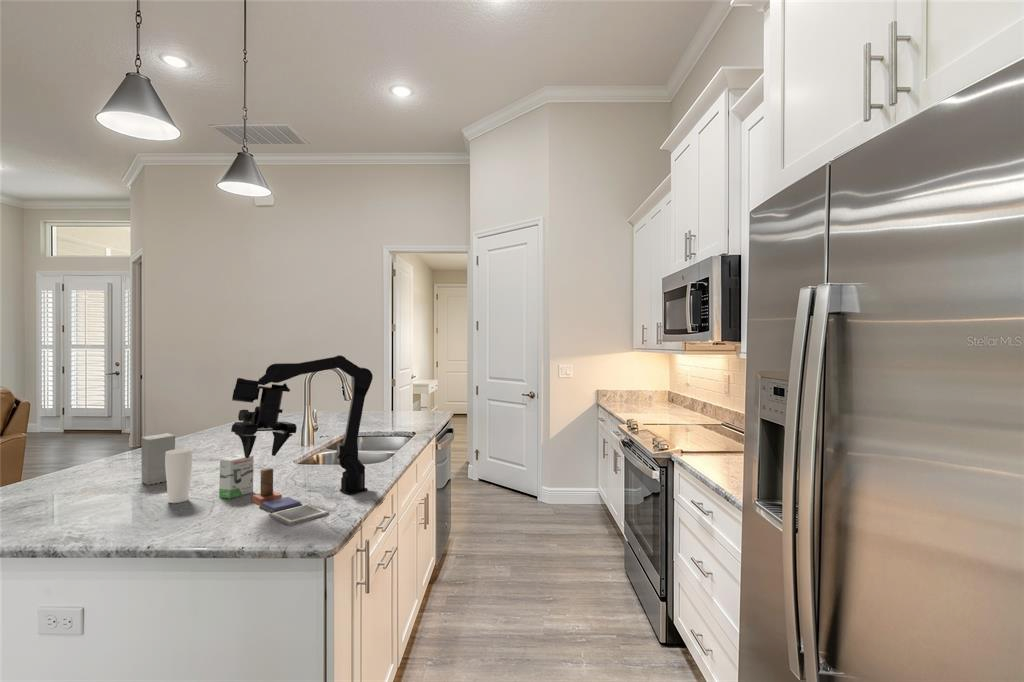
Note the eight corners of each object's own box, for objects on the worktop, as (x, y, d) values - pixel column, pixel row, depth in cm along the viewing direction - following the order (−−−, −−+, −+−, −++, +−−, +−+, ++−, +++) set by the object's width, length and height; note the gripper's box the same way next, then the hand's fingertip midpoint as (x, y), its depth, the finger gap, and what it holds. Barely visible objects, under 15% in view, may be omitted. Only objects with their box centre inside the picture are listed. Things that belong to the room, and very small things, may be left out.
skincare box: (168, 477, 178) (168, 432, 178) (176, 480, 174) (177, 434, 174) (139, 482, 171) (140, 435, 171) (147, 486, 167) (148, 438, 167)
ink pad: (288, 501, 151) (288, 496, 151) (302, 506, 146) (302, 501, 146) (259, 508, 145) (259, 502, 145) (273, 514, 139) (273, 508, 139)
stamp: (272, 497, 155) (272, 466, 155) (281, 501, 151) (281, 469, 152) (251, 501, 151) (252, 469, 151) (261, 506, 147) (261, 473, 147)
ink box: (230, 499, 153) (230, 460, 153) (218, 497, 155) (218, 458, 155) (254, 491, 161) (254, 454, 161) (242, 490, 163) (242, 453, 163)
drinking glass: (196, 499, 153) (197, 449, 153) (173, 505, 146) (174, 454, 147) (182, 496, 155) (183, 447, 156) (159, 502, 149) (160, 451, 149)
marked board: (308, 506, 147) (308, 503, 147) (329, 514, 139) (329, 511, 139) (268, 516, 138) (268, 513, 138) (288, 525, 131) (288, 522, 131)
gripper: (277, 401, 164) (268, 449, 163) (223, 399, 147) (213, 453, 146) (301, 406, 159) (292, 456, 158) (249, 405, 143) (239, 461, 141)
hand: (260, 456), depth 151 cm, fingers open, 9 cm apart
